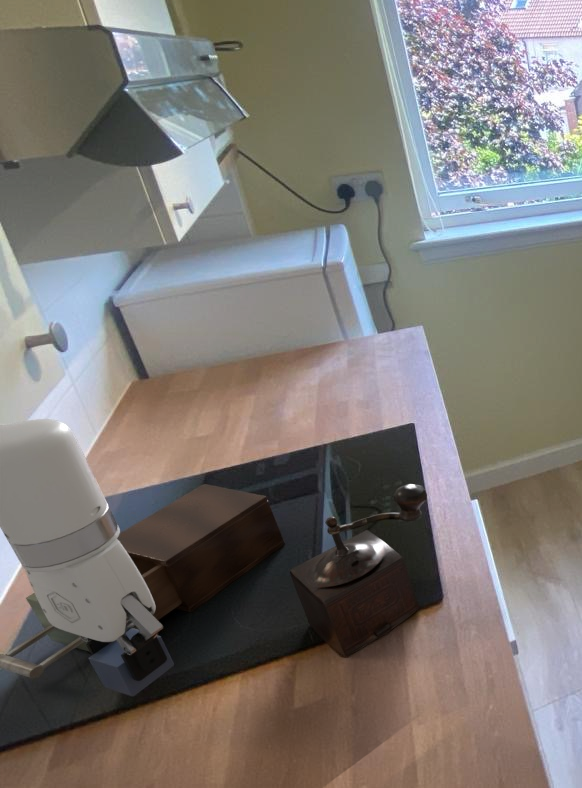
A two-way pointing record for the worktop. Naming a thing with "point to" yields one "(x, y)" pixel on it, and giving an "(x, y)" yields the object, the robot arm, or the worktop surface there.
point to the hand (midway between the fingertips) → (133, 664)
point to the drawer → (164, 603)
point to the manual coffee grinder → (359, 581)
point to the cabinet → (205, 540)
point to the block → (124, 668)
